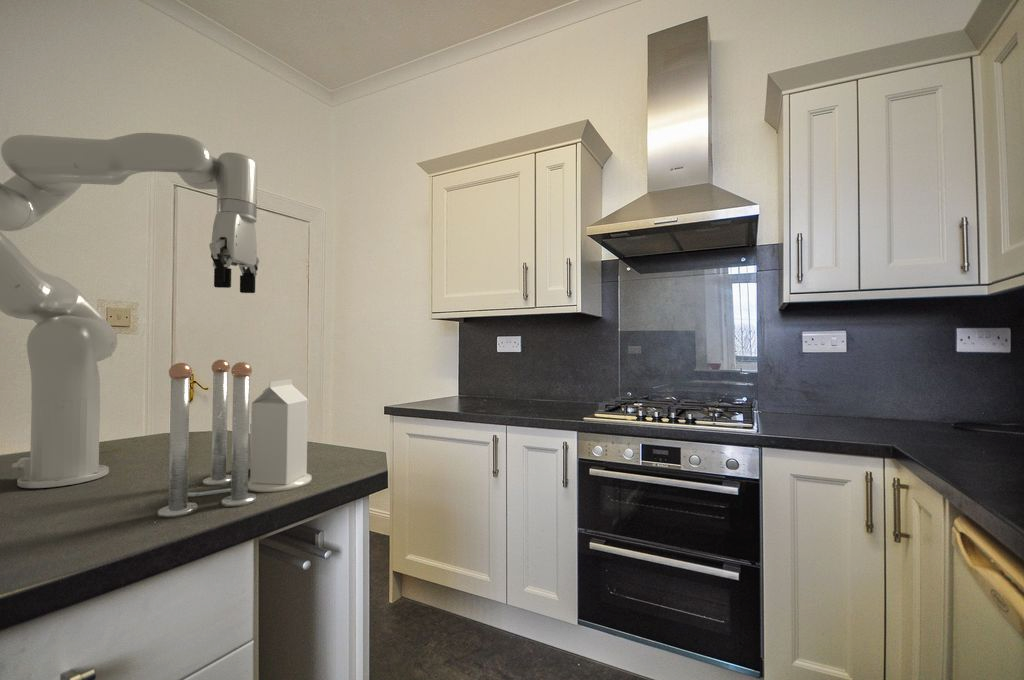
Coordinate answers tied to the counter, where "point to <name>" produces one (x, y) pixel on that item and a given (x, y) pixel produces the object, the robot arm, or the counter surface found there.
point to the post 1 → (179, 444)
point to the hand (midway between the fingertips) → (235, 290)
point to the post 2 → (219, 425)
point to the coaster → (280, 485)
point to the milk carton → (279, 434)
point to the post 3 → (240, 438)
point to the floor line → (209, 492)
